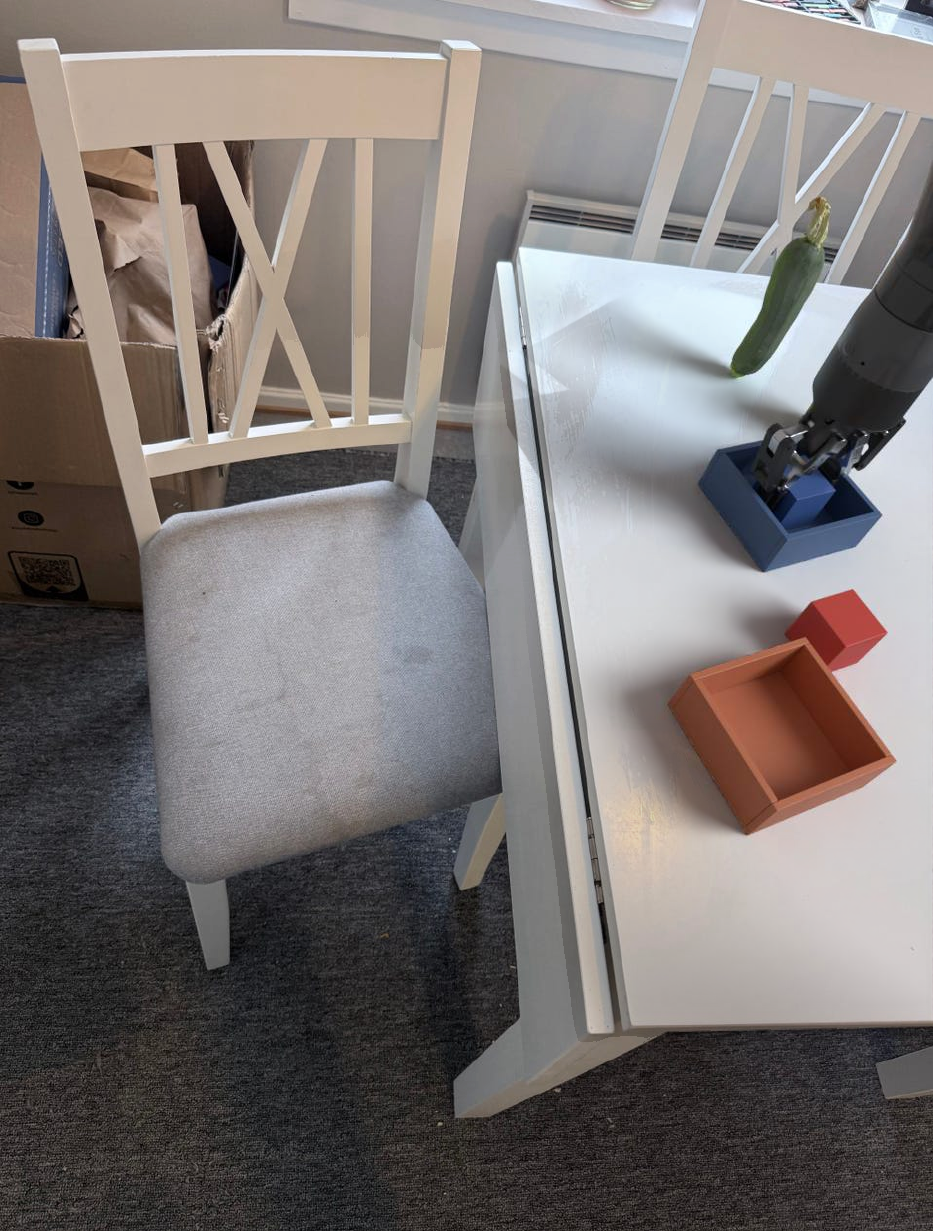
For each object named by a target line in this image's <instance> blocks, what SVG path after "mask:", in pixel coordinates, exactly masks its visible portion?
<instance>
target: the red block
mask: <svg viewBox="0 0 933 1231" xmlns="http://www.w3.org/2000/svg"><path fill="white" fill-rule="evenodd" d="M784 634H785V636H786V638H787V639H788V640H789V642H791V641H794V640H798V639H801V638H804V637H806V638H807V640H808V641H809V643H810V644H811V645H812V647H813V648H814V649H815V651H816V652H817V653H818V655H819V656H820V657H821V659H822V660H823V661H824V663H825V664H826V666H827V667H828V668H829V670H830V671H831V672H832V673H833V672H835V671H838V670H841V669H845V668H847V667H850V666H854V665H856V664H858V663H859V662H860V661H861V660H862V659H863V658H864V657H865V656H866V655H867V654H869V652H870V651H871V650H872V649H873V648H874V647H876V645H878V643H880V641H881V640H883V638H885V637H886V636H887V635H888V634H889V632H888V631H887V630H886V628H885V626H884V625H882V623H881V622H880V621H879V619H878V618H877V617H876V616H875V614H874V613H873V612H872V610H870V608H869V607H868V606H867V604H866V603H865V601H863V599H862V598H861V597H860V596H859V594H858V593H857V592H856V591H855V590H854V589H853V588H851V589H848V590H844V591H842V592H839V593H838V592H837V593H835V594H832V595H828V596H825V597H822V598H819V599H815V600H812V601H810V602H809V603H808V605H807V606H806V607H805V608H804V609H803V611H802V612H801V613H800V614H799V615H798V616H797V617H796V618H795V620H794V621H793V622H792V624H790V626H789V627H788V628H787V629H786V631H784Z"/></svg>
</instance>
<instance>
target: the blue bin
mask: <svg viewBox="0 0 933 1231" xmlns="http://www.w3.org/2000/svg"><path fill="white" fill-rule="evenodd" d="M762 441H763V439H761V440H757V441H756V440H755V441H752V442H751V441H750V442H747V443H742V444H741V443H740V444H737V445H732V446H727V447H722V448H718V449H716V450H715V452H714V453H713V456H712V457H711V459H710V461H709V463H708V464H707V466H706V468H705V470H704V472H703V474H702V475H701V477H700V479H699V480H698V483H697V485H698V486H699V487H700V489H701V490H702V491H703V494H705V496H706V497H707V498H708V499H709V501H710V502H711V504H712V505H713V506H714V507H715V509H716V510H717V512H718V513H719V515H720V516H721V517H722V518H723V520H724V521H725V523H726V525H728V527H729V528H730V529H731V530H732V532H733V533H734V534H735V536H736V537H737V538H738V540H739V542H740V543H741V544H742V545H743V547H744V548H745V549H746V551H747V552H748V553H749V555H750V556H751V558H752V559H753V560H754V562H755V563H756V564H757V565H758V567H759V568H760V570H761V571H762V573H767V572H772V571H775V570H779V569H781V568H785V567H789V566H792V565H796V564H799V563H802V562H803V563H804V562H806V561H810V560H814V559H817V558H822V557H824V556H828V555H831V554H835V553H839V552H843V551H845V550H850V549H853V548H856V547H857V546H859V544H860V543H861V541H862V540H863V539H864V538H865V537H866V536H867V534H868V533H869V532H870V531H871V530H872V529H873V527H875V525H876V524H877V522H879V520H880V519H881V518H882V517H883V513H882V512H881V511H880V510H879V509H878V508H877V506H875V504H874V503H873V501H872V500H871V499H870V498H869V497H868V496H867V495H866V494H865V493H864V491H863V490H862V489H861V488H860V487H859V486H858V485H857V484H856V482H855V481H854V480H853V479H852V478H851V477H850V475H849V474H848V475H847V476H846V477H845V478H843V479H838V481H837V482H836V484H835V485H834V486H833V488H834V489H835V490H836V491H835V492H834V494H833V495H832V496H831V498H830V499H829V500H828V502H827V503H826V504H825V506H824V507H823V508H822V510H821V511H820V512H819V514H818V515H817V516H816V518H815V519H814V520H813V522H812V523H811V524H809V525H805V526H802V527H798V528H794V529H790V530H785V529H784V527H783V526H782V525H781V524H780V522H779V521H778V520H777V518H776V517H775V516H774V515H773V513H772V512H771V511H770V510H769V508H768V507H767V506H766V504H765V503H764V502H763V501H762V499H761V498H760V497H759V495H758V494H757V493H756V492H755V490H754V489H753V488H752V487H753V486H754V484H755V483H756V481H757V479H756V478H755V477H754V475H753V474H752V473H751V468H752V465H753V463H754V461H755V458H756V456H757V453H758V451H759V449H760V446H761V444H762ZM796 451H797V454H798V455H799V456H804V453H803V452H802V451H801V450H800V449H799V446H798V445H797V447H796ZM824 464H825V463H824Z"/></svg>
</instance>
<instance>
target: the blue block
mask: <svg viewBox="0 0 933 1231" xmlns="http://www.w3.org/2000/svg"><path fill="white" fill-rule="evenodd" d="M800 457H801V458H802V459H803V461H804V462H805V463H807V462H808V461H809V460H810V459H808V458H807V457H806V456H805V455H804V456H800ZM791 471H792V467H791V465H790V464H789V463H788V465H787V467H786V469H785V472H784V474H783V475H784V476H785V477H786V476H787V475H788V474H789V473H790V472H791ZM760 485H761V484H760V483H759V482H758V480H757V481H756V483H755V484H754V486H753V487H752V488H753V489H754V490H755V492H757V490H758V488H759V487H760ZM835 491H836V490H835V489H834V488H833V486H832V485H831V484H830V483H829V482H828V481H827V479H826V478H825V477H824V476H823V475H822V474H821V472H820V471H819V470H818V469H816V470H815V471H814V472H813V473H812V474H811V475H810V476H802V477H801V478H800V479H799V480H798V481H796V482H795V483H794V484H793V485H792V486H791V487H790V488H789V489H788V490H787V493H786V495H785V496H784V498H783V499H782V500H781V502H780V503H779V505H778V506H777V508H776V509H775V511H774V512H773V515H774V516H775V517H776V518H777V520H778V521H779V522H780V524H781V525H782V526H783V527H784V529H785V530H790V529H794V528H798V527H802V526H805V525H809V524H811V523H812V522H813V520H814V519H815V518H816V516H817V515H818V514H819V512H820V511H821V510H822V508H823V507H824V506H825V504H826V503H827V502H828V500H829V499H830V498H831V496H832V495H833V494H834V492H835Z"/></svg>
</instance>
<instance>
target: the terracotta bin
mask: <svg viewBox="0 0 933 1231" xmlns="http://www.w3.org/2000/svg"><path fill="white" fill-rule="evenodd" d="M667 706H668V708H669V709H670V711H671V712H672V714H673V716H674V717H675V719H676V720H677V722H678V724H679V725H680V727H681V729H682V730H683V732H684V734H685V735H686V737H687V738H688V740H689V742H690V744H691V745H692V748H694V750H695V752H696V753H697V755H698V756H699V758H700V760H701V761H702V763H703V765H704V766H705V768H706V770H707V772H708V773H709V775H710V776H711V778H712V779H713V781H714V783H715V784H716V786H717V788H718V789H719V791H720V793H721V795H722V796H723V797H724V799H725V802H727V805H728V806H729V807H730V809H731V810H732V812H733V814H734V816H735V817H736V819H737V821H738V823H739V824H740V825H741V827H742V829H743V830H744V832H745V834H746V835H747V836H750V835H752V834H755V833H758V832H761V831H762V830H764V829H767V828H769V827H772V826H774V825H776V824H779V823H781V822H783V821H786V820H788V819H791V818H793V817H795V816H798V815H800V814H802V813H805V812H808V811H810V810H812V809H814V808H817V807H819V806H821V805H824V804H827V803H828V802H829V803H830V802H831V801H834V800H835V799H838V798H841V797H843V796H845V795H848V794H850V793H852V792H855V791H858V790H860V789H863V788H864V787H865V786H867V785H868V784H869V783H871V782H872V781H873V780H875V779H876V778H877V777H879V776H880V775H881V774H883V772H884V773H885V771H887V770H888V769H889V768H891V767H892V766H894V764H896V763H897V762H898V761H897V759H896V758H895V756H894V755H893V754H892V752H891V751H890V749H889V748H888V746H887V745H886V744H885V743H884V741H883V740H882V739H881V737H880V736H879V734H878V733H877V732H876V731H875V729H874V728H873V726H872V725H871V724H870V722H869V721H868V719H867V718H866V717H865V716H864V714H863V713H862V711H861V710H860V709H859V707H858V706H857V704H856V703H855V702H854V701H853V699H852V698H851V696H849V693H848V692H847V691H846V690H845V688H844V687H843V686H842V685H841V683H840V682H839V680H838V679H837V678H836V676H835V675H834V674H833V672H831V671H830V670H829V668H828V667H827V666H826V664H825V663H824V661H823V660H822V659H821V657H820V656H819V655H818V653H817V652H816V651H815V649H814V648H813V647H812V645H811V644H810V643H809V641H808V640H807V638H806V637H804V638H801V639H798V640H794V641H788V642H786V643H782V644H779V645H776V646H773V647H770V648H767V649H763V650H761V651H757V652H754V653H751V654H748V655H745V656H742V657H738V658H735V659H733V660H729V661H727V662H723V663H720V664H717V665H714V666H711V667H708V668H705V669H701V670H698V671H695V672H692V673H690V674H688V676H687V677H686V679H685V680H684V681H683V683H682V684H681V685H680V686H679V688H678V689H677V691H676V692H675V693H674V694H673V696H672V697H671V699H670V700H669V701H668V703H667Z"/></svg>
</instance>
